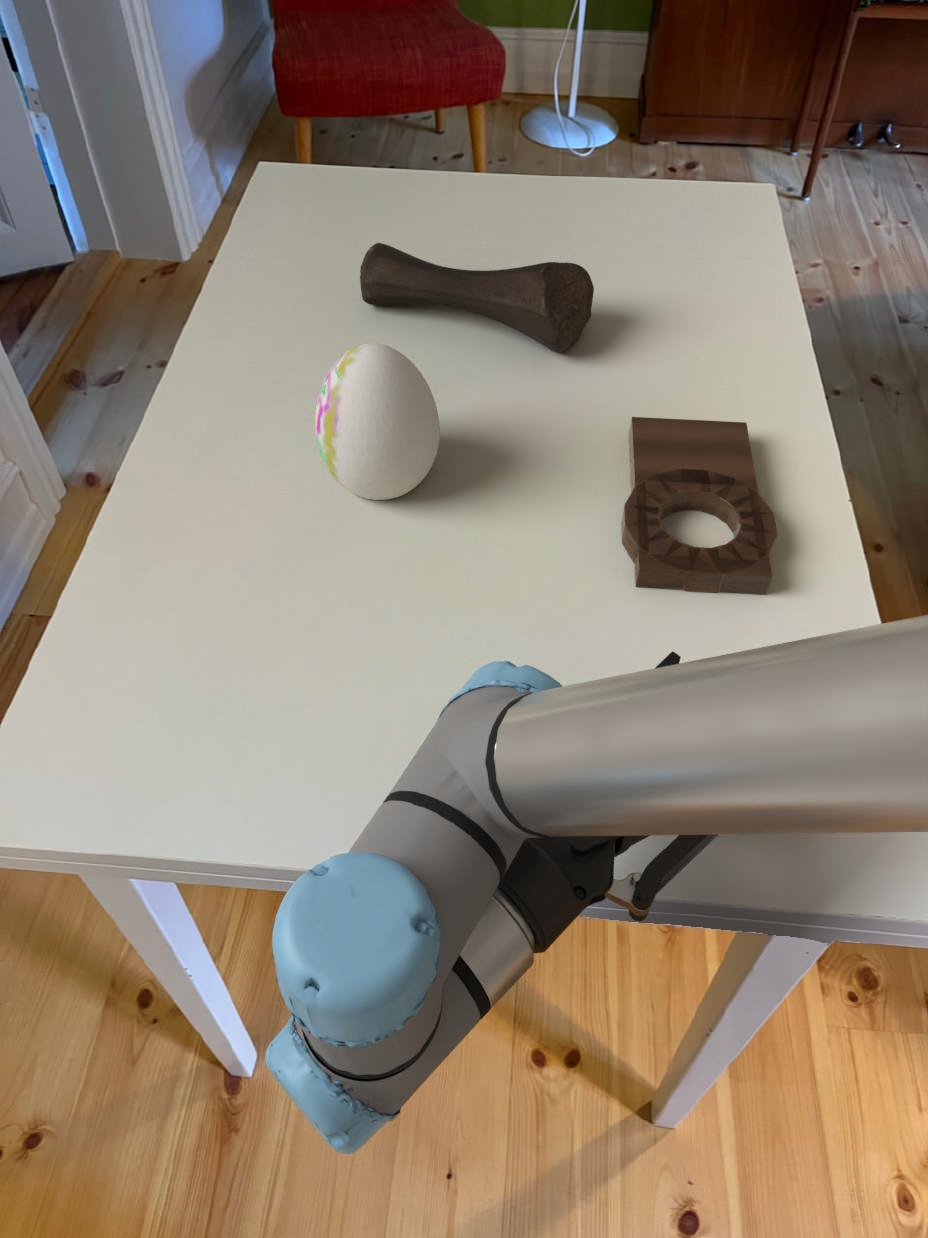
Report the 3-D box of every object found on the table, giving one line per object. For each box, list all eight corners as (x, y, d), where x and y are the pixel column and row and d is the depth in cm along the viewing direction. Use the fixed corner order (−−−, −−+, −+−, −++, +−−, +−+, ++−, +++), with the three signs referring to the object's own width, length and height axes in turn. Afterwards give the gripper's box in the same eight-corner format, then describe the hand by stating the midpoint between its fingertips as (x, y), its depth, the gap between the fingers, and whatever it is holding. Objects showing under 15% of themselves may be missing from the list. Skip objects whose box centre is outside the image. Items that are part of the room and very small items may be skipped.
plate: (778, 596, 86) (786, 578, 84) (623, 587, 86) (626, 569, 84) (751, 441, 100) (757, 422, 98) (618, 434, 100) (621, 415, 98)
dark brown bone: (592, 351, 113) (386, 329, 122) (602, 259, 110) (389, 243, 119) (567, 357, 104) (346, 333, 113) (578, 257, 100) (348, 240, 109)
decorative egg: (356, 424, 102) (341, 301, 90) (459, 452, 99) (457, 328, 87) (301, 495, 94) (278, 371, 83) (410, 528, 91) (402, 404, 80)
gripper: (393, 840, 64) (603, 650, 75) (610, 1044, 56) (814, 798, 66) (385, 785, 59) (614, 588, 69) (626, 1005, 50) (846, 741, 60)
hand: (711, 691), depth 68 cm, fingers closed on pill bottle, 6 cm apart
